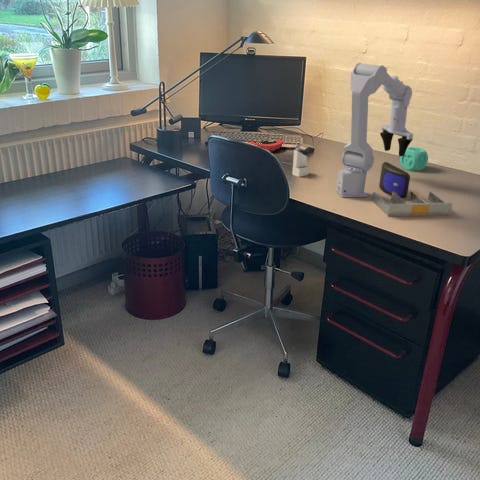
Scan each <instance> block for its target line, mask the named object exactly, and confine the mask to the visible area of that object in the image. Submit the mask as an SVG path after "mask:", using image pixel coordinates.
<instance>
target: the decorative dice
mask: <svg viewBox="0 0 480 480" xmlns="http://www.w3.org/2000/svg"><path fill="white" fill-rule="evenodd" d="M399 161H400V166H401V167H402V168H403V169H404V170H406V171H411V172H419V171H420V172H421V171H422V170H424V169H425V167H426V166H427V164H428V161H429V155H428V153H427V151H426V149H424V148H422V147H416V146H410V147H409V146H408V147H407V149H406V152H405V154H404V156H399Z"/></svg>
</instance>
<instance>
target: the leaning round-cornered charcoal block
mask: <svg viewBox="0 0 480 480" xmlns="http://www.w3.org/2000/svg"><path fill="white" fill-rule="evenodd" d="M410 180H411V176H410V173H408V172H406V171H405V170H403V169H401V168H399V167H397V166H395V165H393V164H392V163H390V162H388V161H387V162H386V161H385V162H383V163H382V164H381V169H380V176H379V184H378V185H379V189H380V190H381V191H382V192H384V193H385V194H386V195H388V196H392V191H395V192H396V193H397V194H398V195H399V196H400V197H401V198H402V199H403V200H404V199H406V198H407V197H408V192H409V188H410V187H409V186H410Z"/></svg>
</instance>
